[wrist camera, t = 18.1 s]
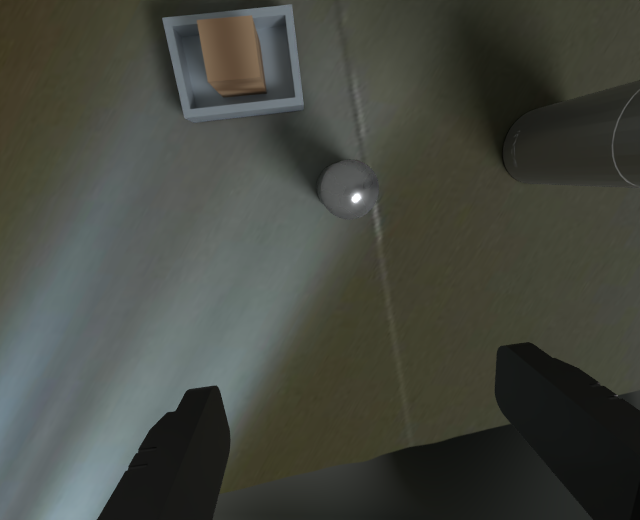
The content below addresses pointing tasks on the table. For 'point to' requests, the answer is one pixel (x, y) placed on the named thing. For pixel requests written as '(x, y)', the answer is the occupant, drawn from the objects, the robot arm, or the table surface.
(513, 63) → the table surface
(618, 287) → the table surface
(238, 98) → the slate tray
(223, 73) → the walnut block
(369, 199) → the grey can
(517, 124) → the robot arm
